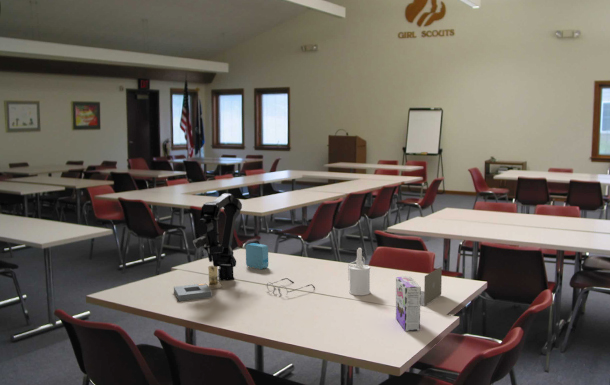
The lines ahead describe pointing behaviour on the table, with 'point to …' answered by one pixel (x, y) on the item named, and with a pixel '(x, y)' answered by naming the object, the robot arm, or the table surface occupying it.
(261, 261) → the data package
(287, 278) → the eyeglasses
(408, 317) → the candy box
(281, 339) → the table surface
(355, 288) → the white squeeze bottle
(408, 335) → the table surface
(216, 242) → the robot arm
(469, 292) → the table surface
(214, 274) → the brass peg
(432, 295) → the laptop
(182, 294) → the hole plate
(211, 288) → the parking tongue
